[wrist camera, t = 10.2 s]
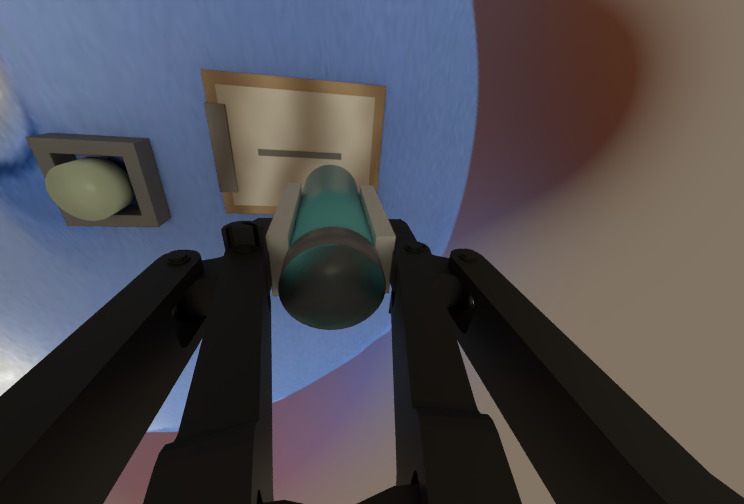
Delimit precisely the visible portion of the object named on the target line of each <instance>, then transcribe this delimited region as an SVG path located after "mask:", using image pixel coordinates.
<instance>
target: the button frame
mask: <svg viewBox="0 0 744 504" xmlns="http://www.w3.org/2000/svg"><path fill="white" fill-rule="evenodd" d="M26 139H27V141H28V143H29V145H30V147H31V149H32V151H33V154H34V156H35V158H36V160H37V162H38V164H39V166H40V168H41V170H42V173H43V175H44V177H45V178H46V175H47V173H48V171H49V170H50V169H52V168H53V167H55V166H57V165H60V164H64V163H67V162H71V161H74V160H77V159H76V157H75V154H81V155H102V156H122V157H123V160H124V163H125V166H126V169H127V172H128V175H129V178H130V181H131V184H132V187H133V190H134V193H135V196H136V199H137V202H138V205H139V206H127V207H125V208H123V209H122V210H120V211H118V212H116V213H115V214H113V215H111V216H110V217H108V218H106V219H103V220H99V221H88V220H83V219H80V218H77V217H74V216H72V215H70V214H68V213H67V212H65V211H64V210H62V209H61V208H60V207H59V206H58V207H59V209H60V211H61V213H62V215H63V217H64V219H65V221H66V223H67V226H115V227H160V226H161V225H162V224H164V223H165V222H166V221H167V220H168V219H170V218H171V216H170V213H169V209H168V206H167V202H166V199H165V195H164V191H163V188H162V184H161V181H160V177H159V173H158V170H157V166H156V163H155V159H154V156H153V152H152V148H151V145H150V141H149V139H148V138H131V137H113V136H96V135H78V134H61V133H47V134H41V135H35V136H29V137H26Z"/></svg>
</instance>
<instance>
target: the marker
mask: <svg viewBox="0 0 744 504" xmlns="http://www.w3.org/2000/svg"><path fill="white" fill-rule="evenodd" d="M385 290H386V279H385V275H384V271H383V268H382V265H381V261H380V258H379V255H378V253H377V251H376V249H375V247H374V244H373V241H372V237H371V234H370V230H369V227H368V224H367V220H366V217H365V213H364V210H363V206H362V203H361V200H360V196H359V191H358V188H357V184H356V182H355V179H354V178H353V176H352V175H351V174H350V173H349V172H348V171H347V170H346V169H344V168H342V167H340V166H337V165H323V166H320V167H318V168H316V169H314V170H313V171H312V172H311V173H310V174H309V175H308V177H307V179H306V181H305V185H304V189H303V193H302V198H301V202H300V206H299V210H298V214H297V219H296V223H295V227H294V231H293V235H292V239H291V243H290V247H289V250H288V251H287V253H286V256H285V259H284V262H283V266H282V270H281V274H280V278H279V282H278V293H279V297H280V300H281V302H282V305H283V306H284V308H285V309H286V311H287V312H288V313H289V314H290V315H291V316H292V317H293V318H295V319H296V320H298V321H299V322H301V323H303V324H305V325H308V326H310V327H314V328H318V329H325V330H336V329H343V328H348V327H351V326H354V325H356V324H358V323H360V322H362V321H364V320H366V319H367V318H368V317H370V316H371V315H372V314H373V313H374V312H375V311H376V310H377V309H378V307H379V306H380V304H381V302H382V300H383V298H384V295H385Z"/></svg>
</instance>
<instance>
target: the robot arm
mask: <svg viewBox="0 0 744 504" xmlns="http://www.w3.org/2000/svg"><path fill="white" fill-rule="evenodd" d="M359 196H360V200H361V203H362V206H363V210H364V213H365V217H366V220H367V224H368V227H369V230H370V234H371V237H372V241H373V244H374V247H375V249H376V251H377V253H378V255H379V258H380V261H381V265H382V268H383V271H384V275H385V279H386V290H385V293H389V287H390V284H391V287H392V292H391V300H390V308H389V313H391V323H392V352H393V378H394V379H393V380H394V406H395V407H394V408H395V436H396V465H397V481H396V486H393V487H391V488H389V489H387V490H385V491H383V492H380V493H378V494H376V495H375V496H372V497H370V498H368V499H366V500H364V501H362V502H360V503H357V504H522V502H521V500H520V497H519V494H518V490H517V488H516V485H515V482H514V479H513V476H512V473H511V470H510V467H509V464H508V461H507V458H506V455H505V452H504V449H503V446H502V443H501V440H500V437H499V434H498V431H497V429H496V427H495V424H494V422H493V420H492V419H491V418H490V416H489V415H488V414H481V413H480V412H479V411H478V409H477V406H476V403H475V400H474V397H473V393H472V390H471V386H470V383H469V380H468V376H467V373H466V369H465V366H464V363H463V359H462V356H461V353H460V349H459V346H458V342H459V344H460V345H461V347H462V349H463V350H464V352H465V354H466V355H467V357H468V359H469V360H470V362H471V364H472V365H473V367H474V369H475V370H476V372H477V373H478V375H479V377H480V378H481V380H482V382H483V383H484V385H485V387H486V388H487V390H488V392H489V393H490V395H491V397H492V398H493V400H494V402H495V403H496V405H497V407H498V408H499V410H500V412H501V413H502V415H503V417H504V418H505V420H506V422H507V423H508V425H509V427H510V428H511V430H512V431H513V433H514V435H515V436H516V438H517V440H518V441H519V443H520V445H521V446H522V448H523V450H524V451H525V453H526V455H527V456H528V458H529V460H530V461H531V463H532V464H533V466H534V468H535V469H536V471H537V473H538V475H539V476H540V478H541V479H542V481H543V483H544V484H545V486H546V488H547V489H548V491H549V493H550V494H551V496H552V498H553V499H554V501H555V503H556V504H744V498H743V497H742V496H740V495H739V494H737V493H736V492H735V491H733V490H732V489H730V488H729V487H728V486H727V485H725V484H724V483H722V482H721V481H720V480H718V479H717V478H715V477H714V476H713V475H711V474H710V473H709V472H708V471H707V470H706V469H705V468H704V467H703V466H702V465H701V464H700V463H698V461H697V460H695V459H694V458H693V457H692V456H691V455H690V454H689V453H688V452H687V451H686V450H685V449H684V448H683V447H682V446H681V445H680V444H679V443H678V442H677V441H676V440H675V439H674V438H672V437H671V436H670V435H669V434H668V433H667V432H666V431H665V430H664V429H663V428H662V427H661V426H660V425H659V424H658V423H657V422H656V421H655V420H654V419H653V418H652V417H651V416H650V415H648V414H647V413H646V412H645V411H644V410H643V409H642V408H641V407H640V406H639V405H638V404H637V403H636V402H635V401H634V400H633V399H632V398H631V397H630V396H629V395H627V394H626V393H625V392H624V391H623V390H622V389H621V388H620V387H619V386H618V385H617V384H616V383H615V382H614V381H613V380H612V379H611V378H610V377H609V376H608V375H607V374H605V372H603V371H602V370H601V369H600V368H599V367H598V366H597V365H596V364H595V363H594V362H593V361H592V360H591V359H590V358H589V357H588V356H587V355H586V354H585V353H584V352H582V350H580V349H579V348H578V347H577V346H576V345H575V344H574V343H573V342H572V341H571V340H570V339H569V338H568V337H567V336H566V335H565V334H564V333H562V331H561V330H560V329H558V328H557V327H556V326H555V325H554V324H553V323H552V322H551V321H550V320H549V319H548V318H547V317H546V316H545V315H544V314H543V313H542V312H540V310H539V309H537V307H535V306H534V305H533V304H532V303H531V302H530V301H529V300H528V299H527V298H526V297H525V296H524V295H523V294H522V293H521V292H520V291H519V290H518V289H517V288H516V287H514V285H512V284H511V283H510V282H509V281H508V280H507V279H506V278H505V277H504V276H503V275H502V274H501V273H500V272H499V271H498V270H497V269H496V268H495V267H494V266H493V265H491V263H489V262H488V261H487V260H486V259H485V258H484V257H483V256H482V255H481V254H479V253H477V252H475V251H473V250H470V249H469V250H468V249H455V250H453V251H451V254H450V258H445V257H439V256H435V255H432V254H431V251H430V249H429V247H428V246H427V245H425V244H423V243H420V242H417V240H416V239H415V237H414V235H413V233H412V232H411V230H410V228H409V226H408V225H407V223H405V222H404V221H402V220H401V219H388V218H387V216H386V214H385V211H384V209H383V207H382V205H381V202H380V200H379V198H378V196H377V193H376V191H375V189H374V187H373V186H370V185H360V193H359ZM301 198H302V183H287V185H286V188H285V190H284V192H283V195H282V197H281V200H280V202H279V205H278V207H277V209H276V212H275V214H274V217H273V218H257V219H256V220H254V221H237V222H233V223H229V224H227V225H225V226H224V227H223V228H222V229H221V231H222V236H223V241H224V246H225V253H224V256H223V257H219V258H214V259H208V260H202V259H201V256H200V253H198V252H196V251H193V250H177V251H172V252H170V253H167V254H165V255H163V256H161V257H159V258H158V259H157V260H156V261H154V262H153V263H152V264H151V265H150V266H149V267H148V268H146V269H145V270H144V271H143V272H142V273H141V274H140V275H138V276H137V277H136V278H135V279H134V280H133V281H132V282H130V283H129V284H128V285H127V286H126V287H125V288H124V289H122V290H121V291H120V292H119V293H118V294H117V295H116V296H114V297H113V298H112V299H111V300H110V301H109V302H108V303H106V304H105V305H104V306H103V307H102V308H101V309H100V310H98V311H97V312H96V313H95V314H94V315H93V316H92V317H91V318H89V319H88V320H87V321H86V322H85V323H84V324H83V325H81V326H80V327H79V328H78V329H77V330H76V331H75V332H73V333H72V334H71V335H70V336H69V337H68V338H67V339H65V340H64V341H63V342H62V343H61V344H60V345H59V346H57V347H56V348H55V349H54V350H53V351H52V352H51V353H49V354H48V355H47V356H46V357H45V358H44V359H43V360H41V361H40V362H39V363H38V364H37V365H36V366H35V367H33V368H32V369H31V370H30V371H29V372H28V373H27V374H25V375H24V376H23V377H22V378H21V379H20V380H19V381H17V382H16V383H15V384H14V385H13V386H12V387H11V388H9V389H8V390H7V391H6V392H5V393H4V394H3V395H1V396H0V504H103V503H104V501H105V500H106V498H107V496H108V495H109V493H110V491H111V489H112V488H113V486H114V484H115V483H116V481H117V480H118V478H119V476H120V474H121V472H122V471H123V470H124V468H125V466H126V465H127V463H128V461H129V460H130V458H131V456H132V455H133V453H134V451H135V450H136V448H137V446H138V445H139V443H140V441H141V440H142V438H143V436H144V434H145V433H146V431H147V430H148V428H149V426H150V425H151V423H152V421H153V420H154V418H155V416H156V415H157V413H158V411H159V410H160V408H161V406H162V405H163V403H164V401H165V400H166V398H167V396H168V395H169V393H170V391H171V390H172V388H173V386H174V385H175V383H176V381H177V380H178V378H179V376H180V375H181V373H182V371H183V370H184V368H185V366H186V365H187V363H188V361H189V360H190V358H191V356H192V355H193V353H194V351H195V350H196V348H197V346H198V345H199V343H200V341H201V340H202V343H201V347H200V350H199V354H198V358H197V362H196V366H195V370H194V374H193V378H192V382H191V385H190V389H189V393H188V397H187V401H186V405H185V409H184V413H183V416H182V420H181V424H180V428H179V432H178V435H177V437H176V439H175V441H174V442H172V443H169V444H166V445H165V446H164V447H163V449H162V450H161V451H160V453H159V455H158V458H157V461H156V463H155V466H154V469H153V472H152V476H151V479H150V482H149V485H148V489H147V492H146V495H145V499H144V503H143V504H302V503H296V502H292V501H287V500H280V501H274V499H273V472H272V471H273V467H272V355H271V298H270V290H271V287H272V293H273V296H279V293H278V282H279V278H280V274H281V270H282V266H283V262H284V259H285V256H286V253H287V251H288V250H289V247H290V243H291V239H292V235H293V231H294V227H295V223H296V219H297V214H298V210H299V206H300V202H301ZM473 300H474V304H473ZM202 338H203V339H202ZM457 340H458V342H457Z"/></svg>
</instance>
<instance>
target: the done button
mask: <svg viewBox="0 0 744 504" xmlns="http://www.w3.org/2000/svg"><path fill="white" fill-rule="evenodd" d="M45 186H46V189H47V192H48V194H49V196H50V197H51V199H52V200H53V201H54V202H55V204H56V205H58V206H59V207H60V208H61V209H62V210H64V211H65V212H67V213H68V214H70V215H72V216H74V217H77V218H80V219H83V220H88V221H99V220H103V219H106V218H108V217H110V216H111V215H113V214H115V213H116V212H118V211H120V210H122V209H123V208H125V207H127V206H128V205H129V204H130V203H131V202H132V201H133V199H134V195H135V193H134V190H133V187H132V184H131V181H130V178H129V176H128V175H127V173H126V172H125V171H124V170H123V169H122V168H120V167H119V166H118V165H116V164H115V163H113V162H111V161H109V160H107V159H103V158H100V157H85V158H81V159H78V160H74V161H71V162H67V163H64V164H60V165H57V166H55V167H53V168H52V169H50V170H49V171H48V173H47V175H46V178H45Z"/></svg>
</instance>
